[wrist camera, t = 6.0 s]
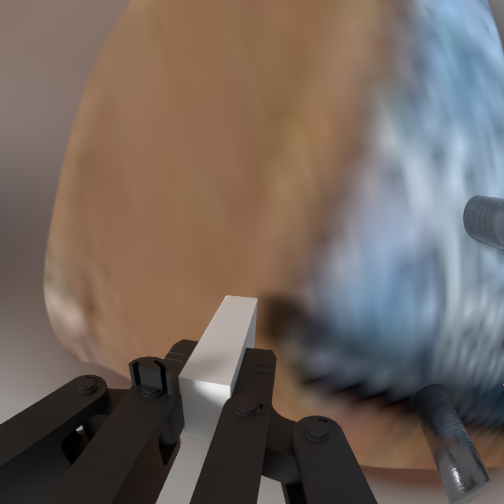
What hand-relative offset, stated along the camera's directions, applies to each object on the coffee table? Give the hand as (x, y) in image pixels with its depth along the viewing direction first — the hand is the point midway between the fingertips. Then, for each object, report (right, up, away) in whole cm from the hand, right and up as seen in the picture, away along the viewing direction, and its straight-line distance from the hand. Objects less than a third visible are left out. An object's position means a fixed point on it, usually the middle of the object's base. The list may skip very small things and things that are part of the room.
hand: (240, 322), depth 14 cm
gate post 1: (+13, -7, +2) cm, 15 cm away
